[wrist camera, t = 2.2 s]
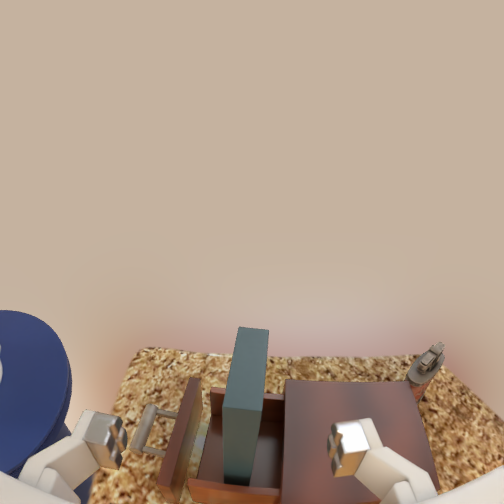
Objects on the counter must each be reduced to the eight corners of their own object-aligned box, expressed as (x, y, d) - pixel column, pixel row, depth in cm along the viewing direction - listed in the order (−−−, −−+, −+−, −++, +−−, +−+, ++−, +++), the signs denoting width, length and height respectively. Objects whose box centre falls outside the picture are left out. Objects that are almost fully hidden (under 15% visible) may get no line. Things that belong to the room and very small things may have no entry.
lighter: (411, 381, 39) (437, 330, 35) (427, 393, 36) (456, 342, 32) (381, 409, 35) (409, 357, 30) (399, 423, 32) (431, 372, 28)
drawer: (127, 491, 22) (111, 470, 19) (160, 400, 34) (153, 370, 31) (305, 518, 21) (319, 502, 18) (304, 418, 33) (314, 390, 30)
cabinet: (269, 524, 21) (280, 505, 18) (277, 417, 34) (285, 378, 31) (405, 514, 20) (440, 488, 17) (386, 418, 33) (409, 380, 30)
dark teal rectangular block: (223, 487, 23) (222, 406, 17) (234, 426, 30) (238, 326, 24) (248, 490, 23) (262, 411, 17) (255, 428, 30) (269, 329, 24)
